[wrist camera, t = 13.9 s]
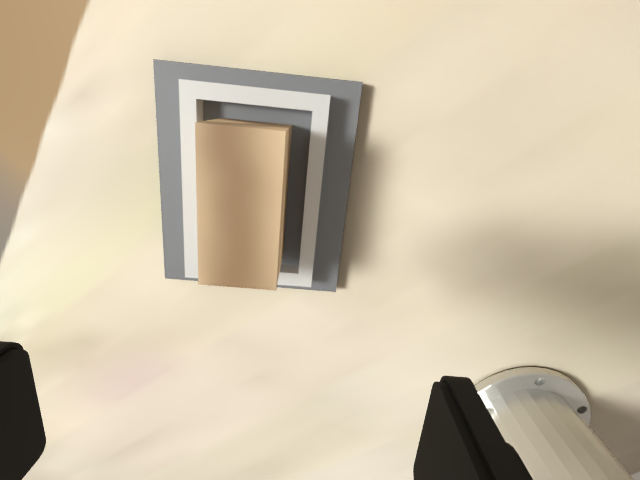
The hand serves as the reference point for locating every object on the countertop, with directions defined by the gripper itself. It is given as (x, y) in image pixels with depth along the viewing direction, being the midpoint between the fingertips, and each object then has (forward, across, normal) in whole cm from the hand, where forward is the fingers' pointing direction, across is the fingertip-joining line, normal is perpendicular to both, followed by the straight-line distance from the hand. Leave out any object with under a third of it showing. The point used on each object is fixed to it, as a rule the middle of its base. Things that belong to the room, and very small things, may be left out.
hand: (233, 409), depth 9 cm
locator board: (+19, +3, -1) cm, 20 cm away
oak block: (+18, +3, -1) cm, 19 cm away
